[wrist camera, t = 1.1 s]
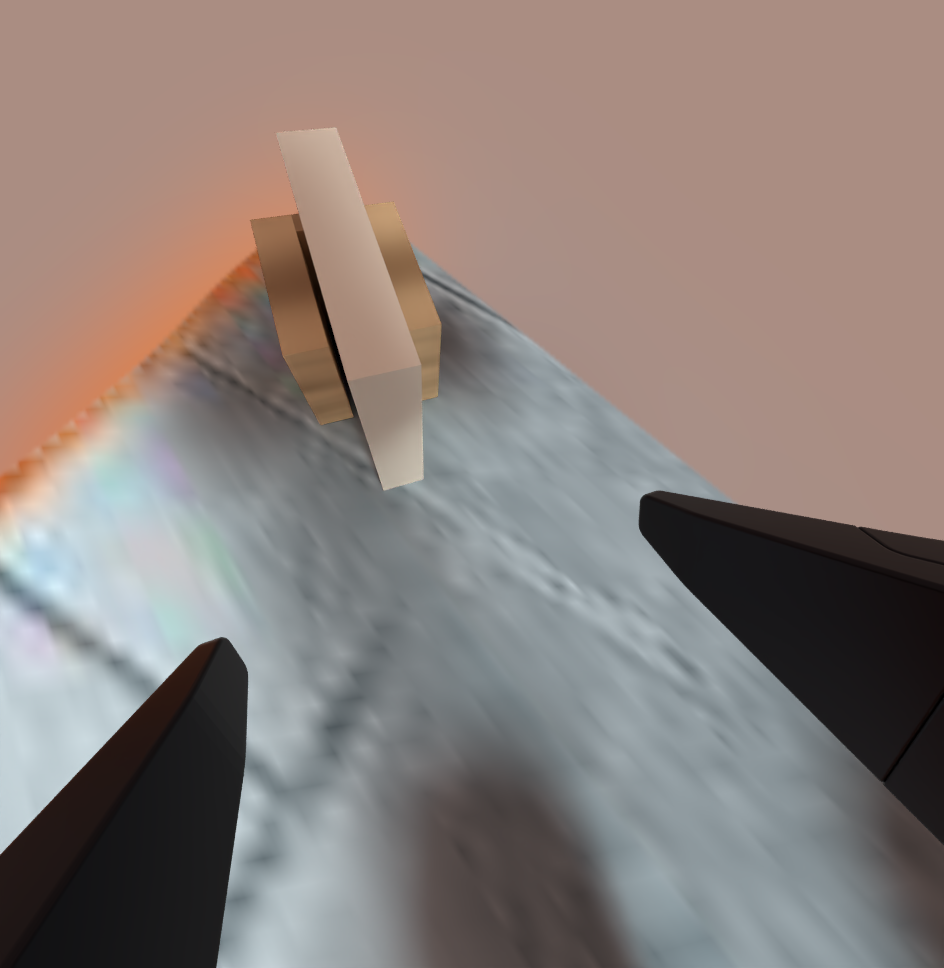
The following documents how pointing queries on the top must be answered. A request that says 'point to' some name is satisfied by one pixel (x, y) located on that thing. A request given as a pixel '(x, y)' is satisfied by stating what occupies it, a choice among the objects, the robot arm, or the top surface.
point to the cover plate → (359, 302)
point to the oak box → (307, 315)
